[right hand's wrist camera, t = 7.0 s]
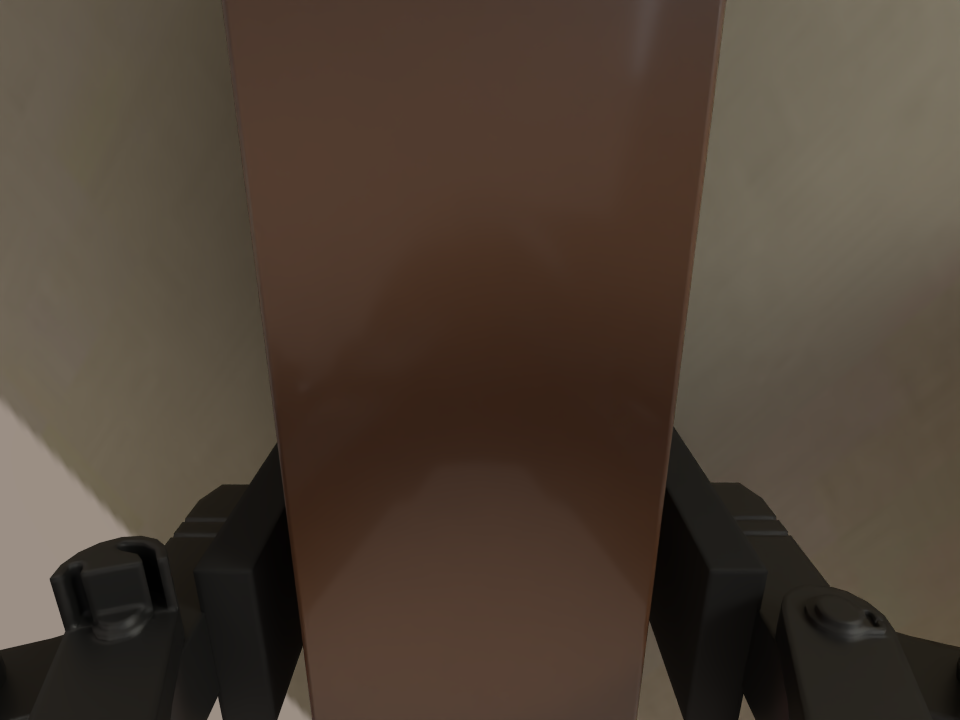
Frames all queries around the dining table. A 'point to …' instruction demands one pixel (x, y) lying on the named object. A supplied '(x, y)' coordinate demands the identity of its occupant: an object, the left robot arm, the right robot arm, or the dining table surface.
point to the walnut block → (474, 333)
